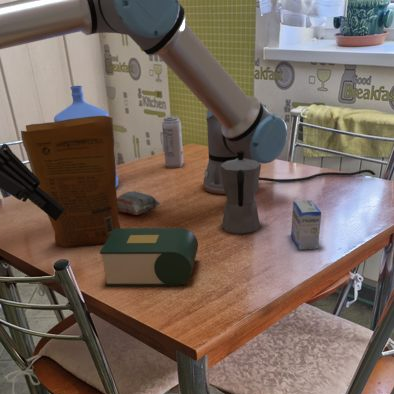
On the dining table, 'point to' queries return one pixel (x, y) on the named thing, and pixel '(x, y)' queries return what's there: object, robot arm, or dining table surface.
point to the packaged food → (136, 203)
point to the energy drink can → (172, 141)
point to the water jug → (80, 110)
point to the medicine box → (305, 224)
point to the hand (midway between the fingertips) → (60, 214)
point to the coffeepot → (240, 194)
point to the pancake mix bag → (76, 176)
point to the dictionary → (149, 256)
